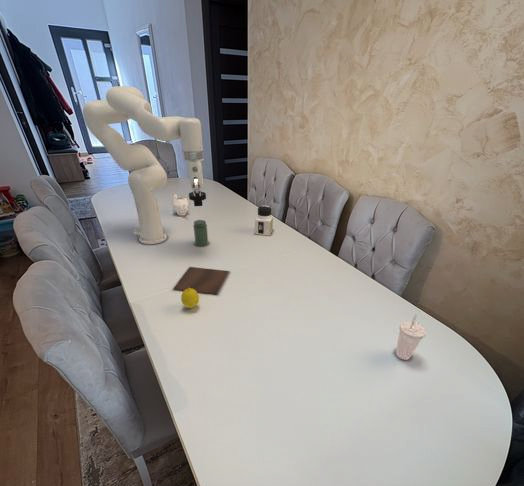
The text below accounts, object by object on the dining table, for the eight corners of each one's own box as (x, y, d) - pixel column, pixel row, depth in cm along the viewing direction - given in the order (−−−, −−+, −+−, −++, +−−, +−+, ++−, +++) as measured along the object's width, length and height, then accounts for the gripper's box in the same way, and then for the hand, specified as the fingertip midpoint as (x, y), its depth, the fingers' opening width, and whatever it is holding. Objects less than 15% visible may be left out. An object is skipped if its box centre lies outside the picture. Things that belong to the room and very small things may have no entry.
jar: (193, 245, 140) (191, 223, 135) (197, 240, 145) (195, 219, 140) (205, 247, 140) (204, 225, 134) (210, 241, 145) (208, 220, 139)
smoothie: (386, 347, 88) (399, 308, 80) (408, 346, 88) (423, 307, 81) (396, 364, 82) (412, 323, 75) (419, 363, 83) (436, 323, 75)
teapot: (179, 221, 165) (176, 204, 160) (168, 210, 180) (166, 194, 175) (196, 218, 170) (194, 201, 164) (184, 207, 184) (182, 192, 179)
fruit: (191, 315, 98) (189, 294, 93) (179, 309, 100) (176, 288, 96) (203, 306, 102) (201, 286, 97) (190, 301, 104) (188, 281, 100)
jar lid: (204, 195, 126) (203, 190, 125) (207, 200, 121) (207, 195, 120) (187, 196, 124) (187, 192, 123) (190, 201, 119) (190, 196, 118)
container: (269, 235, 152) (271, 210, 145) (254, 234, 153) (255, 208, 146) (272, 229, 158) (273, 205, 151) (258, 228, 160) (258, 203, 152)
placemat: (173, 289, 110) (173, 288, 109) (190, 268, 123) (189, 266, 123) (216, 294, 108) (216, 293, 107) (228, 272, 121) (228, 271, 121)
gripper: (204, 159, 108) (208, 209, 117) (202, 151, 122) (206, 196, 132) (182, 160, 106) (188, 210, 116) (183, 152, 121) (188, 197, 130)
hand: (198, 202), depth 124 cm, fingers closed on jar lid, 6 cm apart
